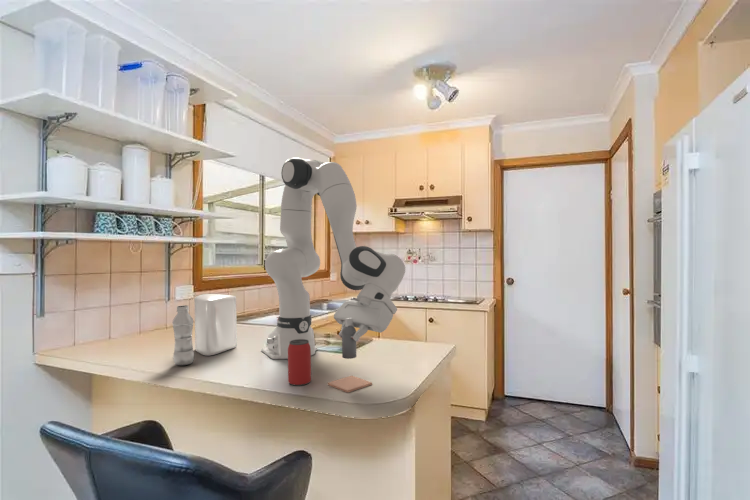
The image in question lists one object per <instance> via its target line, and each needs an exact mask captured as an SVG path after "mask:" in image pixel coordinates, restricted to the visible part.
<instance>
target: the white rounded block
mask: <svg viewBox="0 0 750 500" xmlns="http://www.w3.org/2000/svg"><path fill="white" fill-rule="evenodd" d="M193 303H194V340H195V341H194V344H195V346H194V349H195V350H194V351H196V352H197V353H198V354H201V355H203V356H208V357H209V356H213V355H217V354H221V353H224V352H226V351H229V350H231V349H234V348H236V347H237V346H238V338H237V335H238V333H237V330H238V329H237V326H238V325H237V296H236V295H230V294H224V293H223V294H222V293H220V294H219V293H204V294H200V295H196V296H195V297H194V302H193Z"/></svg>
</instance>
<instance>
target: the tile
mask: <svg viewBox="0 0 750 500" xmlns="http://www.w3.org/2000/svg"><path fill="white" fill-rule="evenodd" d="M372 385H373V382H372V381H369V380H366V379H363V378H361V377H357V376H355V375H349V376H345V377H343V378H339V379H335V380H332V381H328V382H327V386H329V387H332V388H335V389H337V390H340V391H341V392H342V391H343V392H345V393H351V392H354V391H357V390H360V389H363V388H366V387H369V386H372Z"/></svg>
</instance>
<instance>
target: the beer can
mask: <svg viewBox="0 0 750 500" xmlns="http://www.w3.org/2000/svg"><path fill="white" fill-rule="evenodd" d="M289 343H290V344H289V347H288V359H287V374H288V375H287V380H288V383H289V384H290V385H292V386H304V385H307V384H309V383H310V382H311V381H312V355H311V348H310V345H309V341H308V340H305V339H298V340H292V341H290V342H289Z"/></svg>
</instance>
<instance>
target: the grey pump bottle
mask: <svg viewBox="0 0 750 500" xmlns="http://www.w3.org/2000/svg"><path fill="white" fill-rule="evenodd" d="M353 332H354V333H355V332H357V330H356V327H353V324H352V318H345V327H344V328H343V330H342V338H341V349H342V350H341V352H342V353H341V355H342V356H341V357H342V358H343V359H346V360H347V359H348V360H349V359H355V358H357V341H353V340H352V339H351V335H352V334H353Z"/></svg>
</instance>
